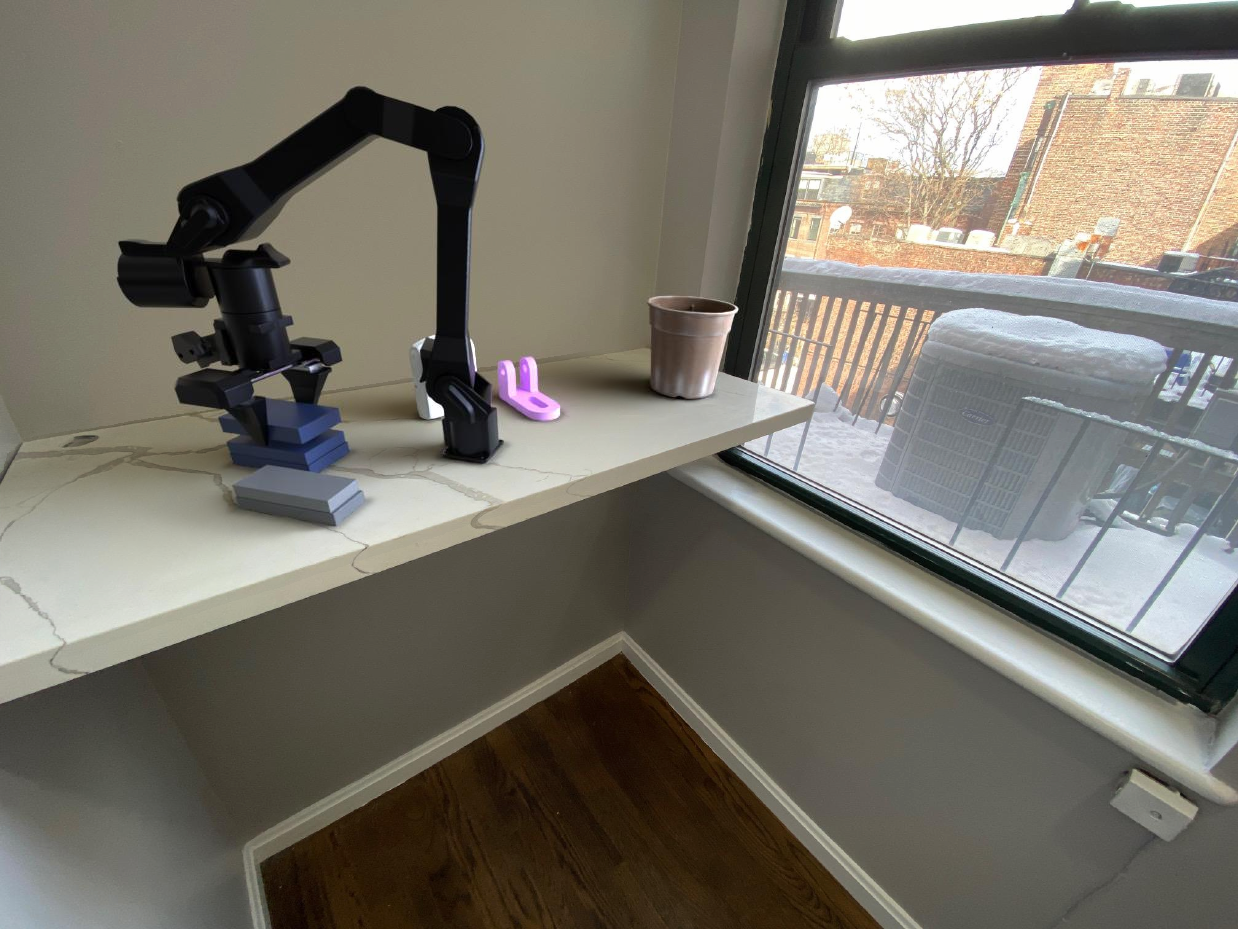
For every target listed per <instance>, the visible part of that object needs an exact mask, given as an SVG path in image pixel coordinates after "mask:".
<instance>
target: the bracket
mask: <svg viewBox="0 0 1238 929" xmlns="http://www.w3.org/2000/svg"><path fill="white" fill-rule="evenodd" d="M519 381H520V382H519V385H517V383H516V382H517V380H516V368H515V366H514V364H513V362H512V361H511V360H510V359H504V360H499V361H498V364H497V382H498V397H499V399H501V400H502V401H504V402H506V403H507V404H508V405H510V406H511V407H513V408H514V409H515V410H517V411H519V412H520V413H521V414H523V415H524V416H526V417H527V418H528V419H530V420H535V421H552V420H554V419H557V418H559V417H560V416H561V404H560V403H559V402H557V401H555V400H554V399H553V398H550V397H548V396H547V395H546V394H544V393H543V392H541V391H539V388H538V387H539V386H538V365H537V363H536V360H535V359H534V357H533V356H526V357H525V356H524V357H521V358H520V359H519Z"/></svg>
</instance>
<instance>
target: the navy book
mask: <svg viewBox="0 0 1238 929" xmlns="http://www.w3.org/2000/svg"><path fill="white" fill-rule="evenodd" d="M266 407H267V420H268V432H269V439H271V440H277V441H284V442H290V443H297V444H304V443H305V442H307V441H309V440H311V439H312V438H314V437H316V436H318V435H319V434H321V433H323V432H325V431H326V430H328V429H332V428H333V427H335V426H337V425H339V424H340V423H342V417H341V413H340V408H339V407H334V406H328V405H320V404H317V405H314V404H307V403H300V402H295V401H292V400H285V399H277V398H271V397H266ZM217 419H218V422H219V426H220V428H221V430H222V433H225V434H232V435H237V436H239V435H245V436H250V435H249V434H248V433H247V432H246V431H245V429H244V428H243V427H242V426H241V425H240V424H239V423H238V421H237V420H236V419H235V418H234V417H233V416H232V415H230V414H229V413H228V412H227V413H224V414H222V415H220V416H218V417H217Z"/></svg>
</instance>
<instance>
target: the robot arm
mask: <svg viewBox="0 0 1238 929" xmlns="http://www.w3.org/2000/svg"><path fill="white" fill-rule="evenodd" d="M380 138H382V139H385V140H389V141H392V142H395V143H399V144H401V145H405V146H407V147H410V148H413V149H417V150H419V151H422V152H426V156H427V162H428V168H429V173H430V178H431V184H432V188H433V194H434V198H435V202H436V203H435V204H436V305H435V306H436V307H435V308H436V314H435V315H436V317H435V318H436V319H435V321H436V323H435V324H436V326H435V327H436V328H435V329H436V330H435V334H434V335H435V339H432V338H428V337H429V336H426V337H424V338H425V340H424V342H423V345H422V347H421V349H420V357H421V362H422V369H423V371H422V375H421V378H420V380H419V382H420V383H423V382H425V381H426V382H425V388H426V392H427V394H428V396H429V397H430V398H431V399H432V400H433V401H434V402H435V403H437V404H439V405H441V406H442V408H443V410H444V416H443V418H442V419H441V426H442V435H443V444H444V447H445V449H444V450H443V451H442V453H441V456H442V457H444V458H449V459H456V460H462V461H468V462H469V461H470V462H475V463H482V464H483V463H487V462H489V461H490V460H491V459H492V457H493V456H494V455H495V454H496V453H497V452H498V451H499V450H500V449H501V448H502V447H503V445H505V440H504V439H500V438H499V437H500V436H499V421H498V420H499V419H498V408H497V407H495V406H492V404H493V403H492V400H493V399H492V398H493V384H492V383H491V382H490V381H489V380H488V379H486V378H485V377H484V376H483V375H482V374H480V373H479V372H478V371H475V364H474V357H473V350H472V345H471V340H472V339H471V336H470V330H469V312H470V285H471V284H470V282H471V255H472V232H473V229H472V227H473V209H474V204H475V202H476V196H477V191H478V187H479V182H480V177H481V172H482V168H483V163H484V159H485V152H486V142H485V139H484V135H483V132H482V128H481V127H480V124H479V123H478V122H477V121H476V119H475V118H474V116H473V115H472V114H470V113H469V112H468V111H467V110H466V109H463V108H461V107H459V106H456V105H444V106H442V107H441V106H440V107H438V108H437V109H436V110H432V109H429V108H426V107H424V106H421V105H417V104H414V103H411V102H408V101H406V100H405V101H404V100H401V99H397V98H395V97H391V96H388V95H384V94H381V93H379V92H376V90H374V89H373V88H370V87H367V86H364V85H363V86H362V85H357V86H353V87H351V88H350V89H348V90H347V91H346V93H345V94H344V96H343V97H342V98H341V99H340V100H338V101H337V102H335V103H333V104H332V105H330V107H328V108H327V109H325V110H323V111H322V112H320V113H319V114H318V115H317V116H315V117H314V118H313V119H311V120H309V121H308V122H306V123H305V124H303V125H302V126H301V127H299V128H298V129H297V130H295V131H293V132H292V133H291V134H289V135H288V136H287V137H284V138H283V139H282V140H280V141H279V142H278V143H276V144H275V145H273V146H272V147H271V148H269V149H268V150H265V152H263V153H262V154H261V155H259V156H258V157H256V158H255V159H254V160H252V161H248V162H246V163H244V164H241V165H238V166H235V167H231V168H227V169H225V170H221V171H219V172H215V173H213V174H211V175H208V176H205V177H203V178H200V179H198V180H195V181H193V182H191V183H188V184H186V185H184V186H183V187H182V188H181V189H180V190H179V191H178V193H177V196H176V202H177V211H178V214H179V216H178V218H177V220H176V222H175V224H174V226H173V229H172V231H171V233H170V235H169V237H168V238H167V241H165V242H164V241H150V240H147V239H141V238H140V239H139V238H128V239H123V240H119V241H117V244H118V248H119V249H120V252H121V253H120V255H119V257H118V259H117V265H116V266H117V267H116V268H117V276H116V281H117V284H118V287H119V289H120V290H121V293H122V294H123V295H124V297H125V298H126V299H127V300H128V301H129V303H131V304H132V305H134V306H135V307H138V308H142V309H143V308H144V309H145V308H150V309H151V308H152V309H153V308H156V309H204V308H206V307H207V306H208V304H209V302H210V300H212V299H214V298H215V299H216V302H217V305H218V308H219V311H220V315H221V317H218V318H214V319H213V323H212V326H213V329H214V333H211V334H207V335H204V336H201V335H200V334H198V333H197V332H196V331H195V330H189V331H185V332H181V333H178V334H175V335H173V336H170V339H171V343H172V348H173V350H174V353H175V355H176V356H177V358H178V359H179V361H181V363H183V364H185V365H189V364H192V363H195V362H196V363H197V365H198V367H199V368H200V369H199V370H196V371H194V372H190V373H186V374H184V375H181V376H179V377H177V379H176V381H175V382H174V385H173V386H174V389H173V390H174V392H175V394H176V397H177V400H178V402H179V404H182V405H189V406H195V407H202V408H211V409H216V410H225V411H226V412H227V413H229V414H230V415H232V416H233V417H234V418H235V419H236V420H237V421H238V423H239V424H240V425H241V426H242V427H243V428H244V429H245V431H246V432H247V433H248V434H249V435H250V436H251V438H252V439H253V440H254V441H255V442H256V443H257V444H258V445H259V446H262V447H266V446H268V441H269V432H268V420H267V407H266V398H267V397H266V396H263V395H257V394H255V389H254V384H255V383H258V382H260V381H263V380H265V379H268V378H270V377H273V376H276V375H278V374H281V375H282V377H284V378H285V380H286V381H287V382H288V383H289V385H290V389H291V392H292V396H293V399H294V402H300V403H307V404H314V405H319V400H320V397H321V394H322V392H323V389H324V386H325V384H326V381H327V379H328V377H329V374H330V373H332V372H333V367H332V366H334V365H337V364H339V363H342V362H343V357H342V351H341V348H340V346H339V345H338V344H337V343H336V342H334V340H333V339H326V338H316V337H309V336H301V337H298V338H295V339H291V340H290V338H289V335H288V334H289V333H288V330H287V327H289V326H292V325H294V319H293V316H292V315H287V314H283V311H282V307H281V304H280V300H279V295H278V292H277V286H276V284H275V279H274V276H273V272H272V269H273V270H274V269H281V268H283V267H286V266H289V265H290V264H291V261H292V260H291V259H290V257H287V256H286V255H284V254H283V253H282V252H280V251H279V250H277V249H276V248H275V247H274V246H273V245H272V244H271V243H270V242H264V243H260V244H259V245H257V248H256V249H237V248H235V249H234V248H229V249H226V250H225V251H224V252H223V254H222V257H205V256H204V254H205V253H208V252H212V251H217V250H221V249H225V248H227V247H228V246H232V245H236V244H240V243H243V242H248V241H252V240H254V239H255V240H256V239H257V238H259V237H260V236H261V235H262V234H264V232H265V231H266V230H267V229H268V227H270V225H271V224H273V222H274V221H275V220H276V219H277V218H278V216H279V215H280V214H281V212H282V210H283V209H284V207H285V206H286V204H287V203H288V202H289V201H290V200H291V199H292V198H293V197H294V196H295V195H296V194H298V193H299V192H301V191H302V190H304V189H305V188H307V187H308V186H310V185H312V183H314V182H316V180H318V179H320V178H321V177H323V176H324V175H325V174H327V173H328V172H331V170H333V169H334V168H336V167H337V166H338V165H341V163H343V162H344V161H346V160H347V159H349V158H350V157H352V156H354V154H356V153H358V152H359V151H360V150H362V149H364V148H365V147H367V146H368V145H370V144H372V142H374V141H375V140H378V139H380ZM470 339H471V340H470ZM218 362H220V364H221V366H226V367H232V366H237V367H238V368H237V369H235V370H228V369H227V370H226V369H218V368H212V367H211V368H210V365H211V364H215V363H218Z"/></svg>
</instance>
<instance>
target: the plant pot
mask: <svg viewBox="0 0 1238 929" xmlns="http://www.w3.org/2000/svg"><path fill="white" fill-rule="evenodd" d="M646 304H647V305H648V312H649V315H648V317H649V320H648V322H649V325H650V382H649V383H650V387H651V389H652V390H653V391H656V393H658V394H661V395H664V396H667V397H671V398H676V397H679V396H680V397H682V398H684V399H686V400H687V399H690V400H691V399H703V398H706V397H708V396H711V395H712V394H713V393H714V389H715V384H716V380H717V376H718V373H719V368H720V364H721V360H722V358H723V352H724V349H725V345H726V342H727V337H728V333H730V332H731V329H732V325H733V321H734V317H735V314H737V313H738V311H739V307H738V306H737V305H735V304H732V303H731V302H727V301H723V300H718V299H712V298H708V297H700V296H691V295H657V296H652V297H649V298H648V299H647V300H646Z"/></svg>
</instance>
